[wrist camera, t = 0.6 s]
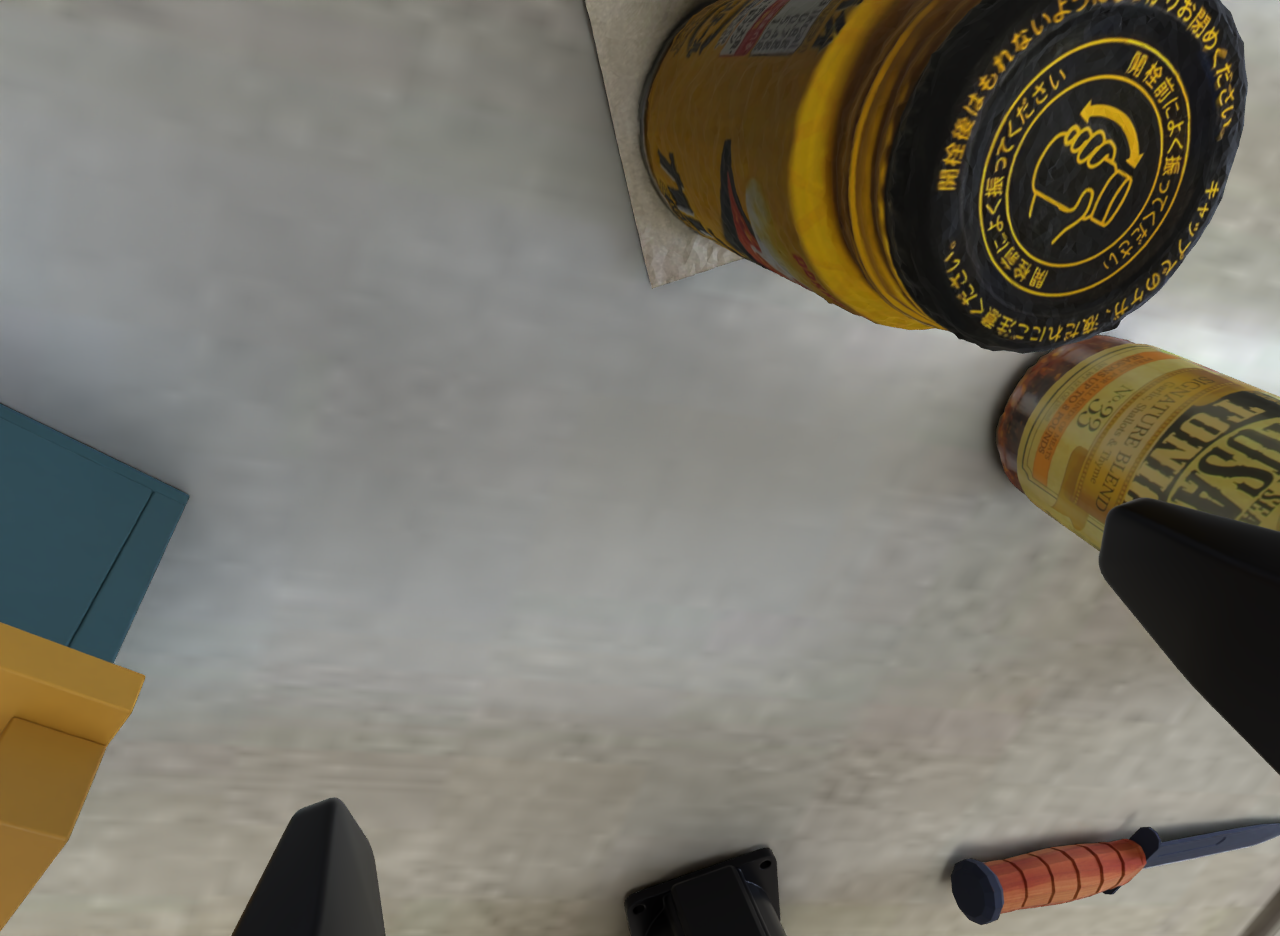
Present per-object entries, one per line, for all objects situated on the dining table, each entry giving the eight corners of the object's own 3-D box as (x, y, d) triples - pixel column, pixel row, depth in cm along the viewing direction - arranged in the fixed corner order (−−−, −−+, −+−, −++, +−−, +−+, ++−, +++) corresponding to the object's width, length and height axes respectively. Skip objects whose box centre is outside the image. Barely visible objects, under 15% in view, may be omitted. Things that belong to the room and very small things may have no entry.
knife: (1253, 831, 49) (1310, 779, 47) (1293, 873, 47) (1354, 822, 45) (925, 894, 39) (975, 834, 37) (958, 951, 37) (1012, 891, 35)
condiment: (649, 287, 22) (884, 473, 12) (565, -74, 18) (812, -275, 8) (886, 211, 23) (1295, 320, 13) (858, -147, 19) (1426, -415, 9)
